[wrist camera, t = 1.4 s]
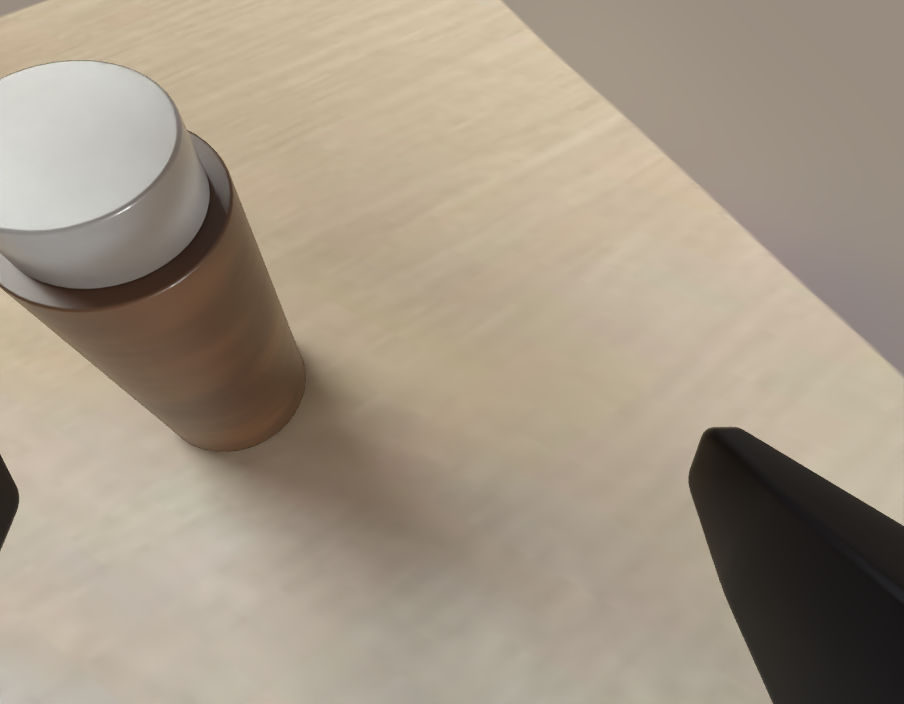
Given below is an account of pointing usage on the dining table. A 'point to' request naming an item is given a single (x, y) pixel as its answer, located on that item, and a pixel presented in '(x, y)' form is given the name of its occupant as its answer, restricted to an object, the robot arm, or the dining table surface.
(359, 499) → the dining table surface
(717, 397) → the dining table surface
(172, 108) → the pepper mill
